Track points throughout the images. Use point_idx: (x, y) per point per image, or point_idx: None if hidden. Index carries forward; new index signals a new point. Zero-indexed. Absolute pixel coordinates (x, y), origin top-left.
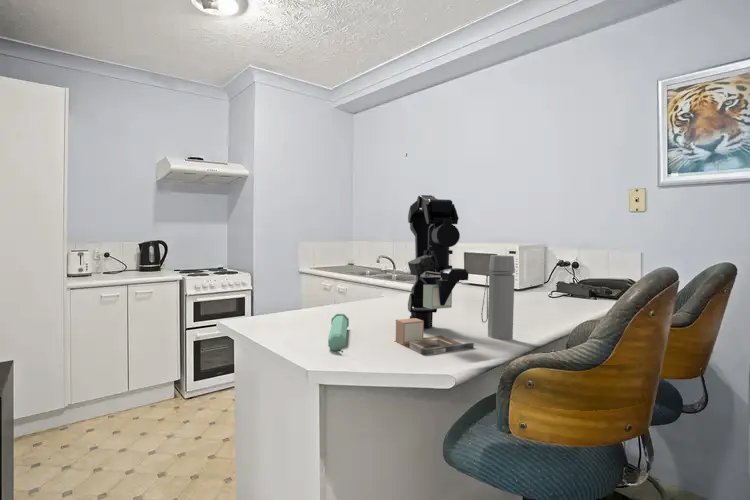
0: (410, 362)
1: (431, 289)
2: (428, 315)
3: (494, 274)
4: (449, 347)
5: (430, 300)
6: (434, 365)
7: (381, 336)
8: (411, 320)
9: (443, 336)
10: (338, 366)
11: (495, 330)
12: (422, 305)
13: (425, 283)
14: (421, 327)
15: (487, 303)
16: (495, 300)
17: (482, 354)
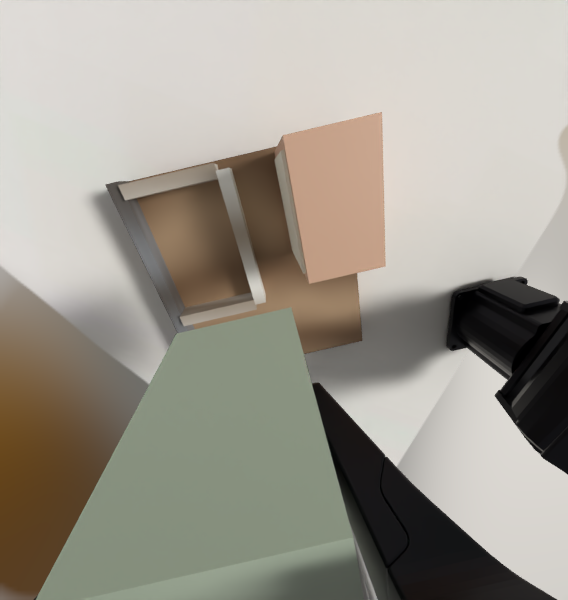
0: (84, 115)
1: (91, 520)
2: (500, 362)
3: None
4: (165, 305)
5: (172, 376)
6: (56, 203)
7: (492, 126)
8: (335, 218)
9: (349, 343)
10: None
11: None
12: (547, 367)
13: (463, 572)
14: (298, 259)
15: (357, 556)
16: None
17: None
